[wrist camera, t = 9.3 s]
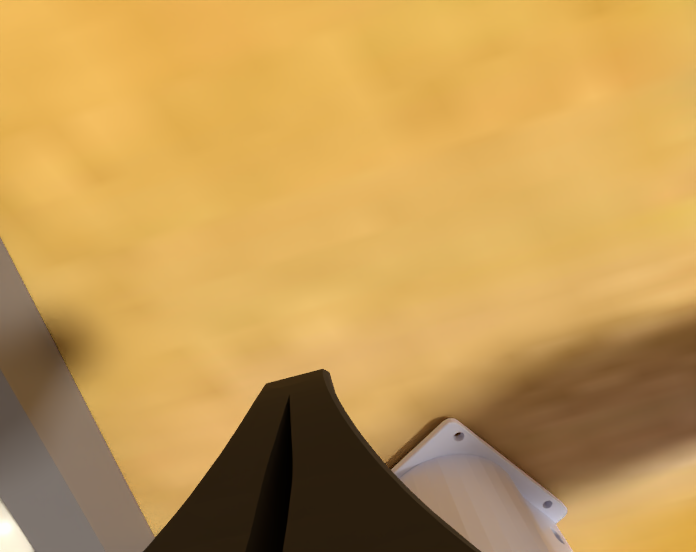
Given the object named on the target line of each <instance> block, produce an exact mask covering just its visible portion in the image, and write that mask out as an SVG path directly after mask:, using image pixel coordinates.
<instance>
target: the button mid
mask: <svg viewBox="0 0 696 552" xmlns="http://www.w3.org/2000/svg"><path fill="white" fill-rule="evenodd" d="M0 552H35V550H34V548H33V547H32V545H31V544H30V542H29V541H28V539H27V538H26V536H25V535H24V533H23V532H22V530H21V528H20V527H19V525H18V524H17V522H16V521H15V519H14V518H13V516H12V515H11V513H10V512H9V510H8V509H7V507H6V506H5V504H4V502H3V501H2V499H1V498H0Z"/></svg>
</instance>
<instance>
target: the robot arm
mask: <svg viewBox="0 0 696 552" xmlns="http://www.w3.org/2000/svg"><path fill="white" fill-rule="evenodd" d="M458 432H461V433H460V434H459V435H458V436H454V435H455V434H456V433H458ZM566 514H567V508H566V506H565V505H564V504H563V502H562V501H560V500H559V499H558V498H557V497H555V496H554V495H553V494H551V493H550V492H549V491H548V490H546V489H545V488H544V487H542V486H541V485H540V484H539V483H537V482H536V481H535V480H534V479H532V478H531V477H530V476H528V475H527V474H526V473H525V472H523V471H522V470H521V469H519V468H518V467H517V466H516V465H514V464H513V463H512V462H511V461H509V460H508V459H507V458H505V457H504V456H503V455H502V454H500V453H499V452H498V451H496V450H495V449H494V448H493V447H491V446H490V445H489V444H488V443H486V442H485V441H484V440H482V439H481V438H480V437H479V436H477V435H476V434H475V433H473V432H472V431H471V430H470V429H468V428H467V427H466V426H464V425H463V424H462V423H461V422H459V421H458V420H457V419H454V418H448V419H446V420H444V421H443V422H442V423H440V424H439V425H438V426H437V427H436V428H435V429H434V430H433V431H432V432H431V433H430V434H429V435H428V436H426V437H425V438H424V439H423V440H422V441H421V442H420V443H419V444H418V445H417V446H416V447H415V448H414V449H413V450H411V451H410V452H409V453H408V454H407V455H406V456H405V457H404V458H403V459H402V460H401V461H400V462H399V463H398V464H396V465H395V466H394V467H393V468H392V469H391V470H390V469H389V467H388V466H387V465H386V464H385V463H384V462H383V461H382V460H381V458H380V457H379V456H378V455H377V454H376V452H375V451H374V450H373V449H372V447H371V446H370V445H369V444H368V442H367V441H366V440H365V439H364V437H363V436H362V435H361V433H360V432H359V431H358V429H357V428H356V426H355V425H354V423H353V422H352V420H351V419H350V417H349V416H348V414H347V413H346V411H345V410H344V408H343V407H342V405H341V403H340V401H339V399H338V397H337V395H336V394H335V390H334V387H333V383H332V380H331V376H330V373H329V372H328V371H326V370H324V369H321V370H317V371H313V372H309V373H305V374H301V375H297V376H294V377H290V378H286V379H282V380H278V381H274V382H271V383H267V384H266V385H265V386H264V387H263V389H262V391H261V392H260V394H259V395H258V397H257V398H256V400H255V401H254V403H253V405H252V406H251V408H250V409H249V411H248V413H247V414H246V416H245V417H244V419H243V421H242V422H241V424H240V425H239V427H238V428H237V430H236V432H235V433H234V435H233V436H232V438H231V439H230V441H229V442H228V444H227V445H226V447H225V448H224V450H223V451H222V453H221V454H220V456H219V457H218V458H217V460H216V461H215V462H214V464H213V465H212V466H211V468H210V469H209V471H208V472H207V473H206V475H205V476H204V477H203V479H202V480H201V481H200V483H199V484H198V486H197V487H196V488H195V490H194V491H193V492H192V494H191V495H190V496H189V498H188V499H187V500H186V501H185V503H184V504H183V505H182V507H181V508H180V509H179V510H178V511H177V513H176V514H175V515H174V516H173V517H172V519H171V520H170V521H169V522H168V523H167V525H166V526H165V527H164V528H163V529H162V530H161V532H160V533H159V534H158V535H157V536H156V537H155V538H154V540H153V541H152V542H151V543H150V544H149V545H148V546H147V548H146V549H145V550H144V551H143V552H573V550H572V549H571V547H570V546H569V544H568V542H567V541H566V539H565V538H564V536H563V535H562V533H561V531H560V530H559V528H558V527H557V525H556V523H557V522H559V521H560V520H561V519H562V518H563V517H564V516H565V515H566Z"/></svg>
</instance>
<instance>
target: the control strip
mask: <svg viewBox="0 0 696 552" xmlns="http://www.w3.org/2000/svg"><path fill="white" fill-rule="evenodd" d="M0 498H1V499H2V501H3V502H4V504H5V506H6V507H7V509H8V510H9V512H10V513H11V515H12V516H13V518H14V519H15V521H16V522H17V524H18V525H19V527H20V528H21V530H22V532H23V533H24V535H25V536H26V538H27V539H28V541H29V542H30V544H31V545H32V547H33V548H34V550H35V552H143V551H144V550H145V549H146V548H147V546H148V545H149V544H150V543H151V542H152V541H153V540H154V538H155V537H154V535H153V533H152V531H151V529H150V527H149V525H148V524H147V522H146V520H145V518H144V516H143V514H142V512H141V510H140V508H139V506H138V504H137V502H136V500H135V498H134V496H133V494H132V492H131V490H130V489H129V487H128V485H127V483H126V481H125V479H124V477H123V475H122V473H121V471H120V469H119V467H118V465H117V463H116V461H115V459H114V457H113V455H112V454H111V452H110V450H109V448H108V446H107V444H106V442H105V440H104V438H103V436H102V434H101V432H100V430H99V428H98V426H97V424H96V422H95V421H94V419H93V417H92V415H91V413H90V411H89V409H88V407H87V405H86V403H85V401H84V399H83V397H82V395H81V393H80V391H79V389H78V387H77V386H76V384H75V382H74V380H73V378H72V376H71V374H70V372H69V370H68V368H67V366H66V364H65V362H64V360H63V358H62V356H61V354H60V352H59V351H58V349H57V347H56V345H55V343H54V341H53V339H52V337H51V335H50V333H49V331H48V329H47V327H46V325H45V323H44V321H43V319H42V318H41V316H40V314H39V312H38V310H37V308H36V306H35V304H34V302H33V300H32V298H31V296H30V294H29V292H28V290H27V288H26V286H25V284H24V283H23V281H22V279H21V277H20V275H19V273H18V271H17V269H16V267H15V265H14V263H13V261H12V259H11V257H10V255H9V253H8V251H7V249H6V248H5V246H4V244H3V242H2V240H1V238H0Z"/></svg>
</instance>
